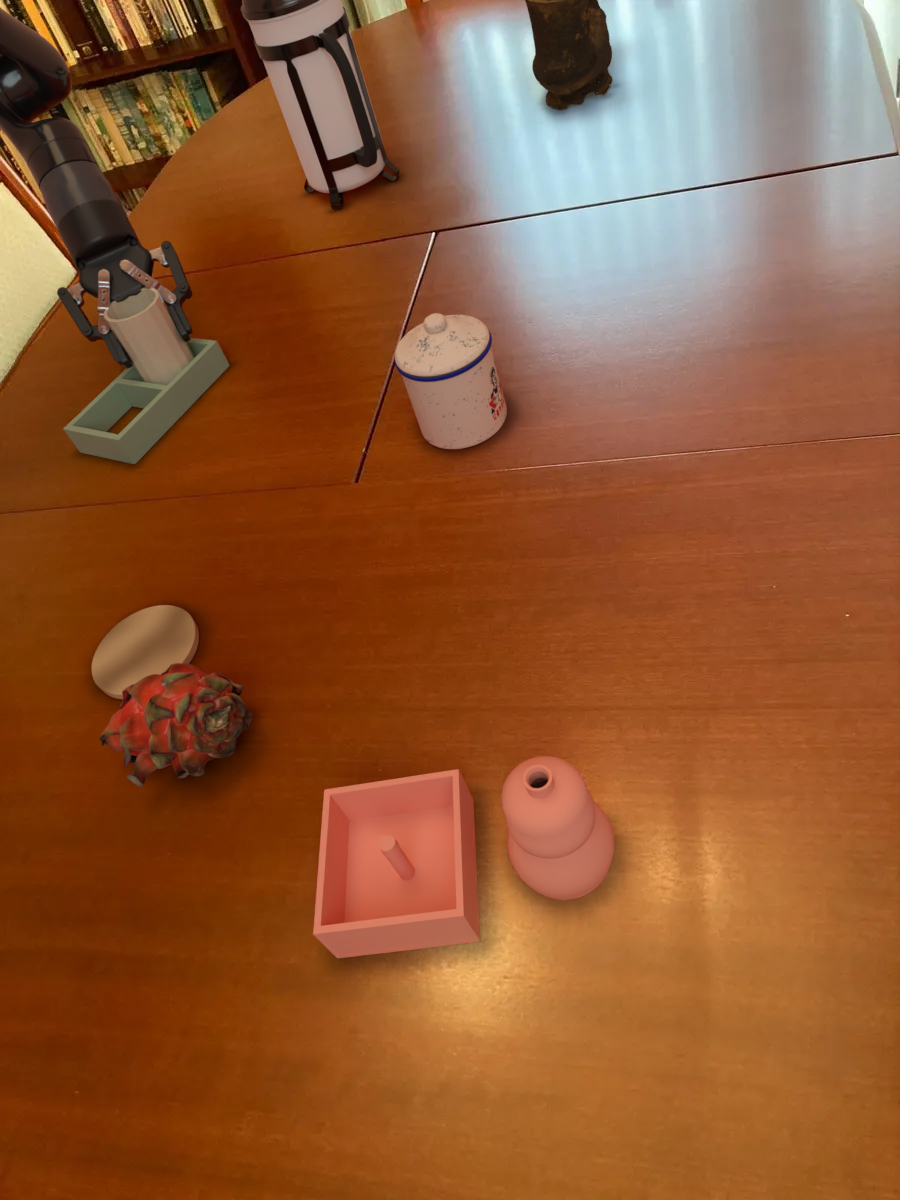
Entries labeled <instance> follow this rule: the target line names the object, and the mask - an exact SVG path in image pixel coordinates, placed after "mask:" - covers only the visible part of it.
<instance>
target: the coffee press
mask: <svg viewBox="0 0 900 1200" xmlns="http://www.w3.org/2000/svg"><path fill="white" fill-rule="evenodd" d="M241 4H242V5H241V6H240V12H241V15H242V17H243V19H245V21H247V23H248V25H249V27H250V30H251V32H252V35H253V43H254V46H255V48H256V51H257V54H258V57H259V59H260V60H262V63H263V65H264V68H265V70H266V71H265V72H266V73H267V77H268V79H269V82H270V84H271V87H272V89H273V92H274V94H275V98H276V100H277V103H278V107H279V109H280V111H281V113H282V116H283V119H284V122H285V124H286V127H287V129H288V132H289V136H290V138H291V140H292V141H291V142H292V143H293V145H294V146H293V147H294V149H295V151H296V153H297V156H298V159H299V162H300V165H301V167H302V170H303V172H304V175H305V181H304V185H303V186H304V187H303V189H304V191H305V192H306V193H308V194H313V193H314V192H315V191H317V192H320V193H324V194H328V195H329V205H330V208H331V210H333V211H336V210H343V209H344V195H345V192H348V191H352V190H355V189H357V188H359V187H362V186H364V185H366V184H367V183H369V182H371V181H372V180H374V179H375V178H376V177H378V176H380V177H383V178H385V179H386V180H388V181H389V182H396V181H397V180H398V178H399V176H400V169H399V168H398V167H397V166H396V165H395V164H394V163H393V162H392V161H391V160H390V159H389V157H388V155H387V152H386V148H385V145H384V142H383V138H382V135H381V131H380V127H379V123H378V121H377V117H376V113H375V111H374V108H373V104H372V100H371V97H370V93H369V90H368V87H367V83H366V80H365V76H364V74H363V70H362V67H361V63H360V60H359V57H358V53H357V51H356V47H355V43H354V40H353V37H352V33H351V30H350V25H351V24H350V21H349V17H348V13H347V11H346V8H345V7H344V6H343V3H342V0H241ZM386 166H387V168H388V169H390V170H391V172H393V173H394V175H392V174H391V173H390V172H388V171H386V170H383V169H384V168H385V167H386Z"/></svg>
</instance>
